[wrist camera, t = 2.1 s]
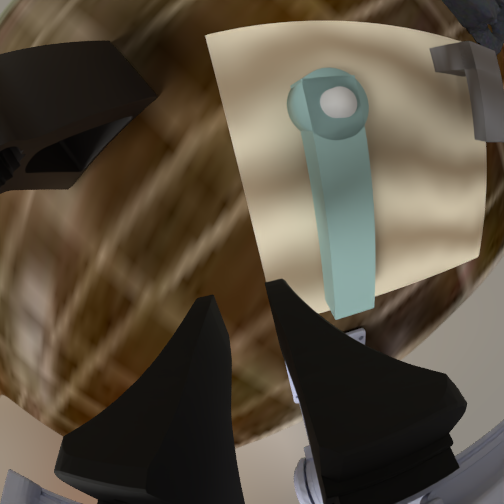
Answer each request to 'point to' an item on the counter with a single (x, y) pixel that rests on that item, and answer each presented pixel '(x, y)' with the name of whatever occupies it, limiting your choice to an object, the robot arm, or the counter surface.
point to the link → (339, 183)
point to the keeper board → (378, 140)
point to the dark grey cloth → (481, 20)
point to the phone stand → (63, 110)
